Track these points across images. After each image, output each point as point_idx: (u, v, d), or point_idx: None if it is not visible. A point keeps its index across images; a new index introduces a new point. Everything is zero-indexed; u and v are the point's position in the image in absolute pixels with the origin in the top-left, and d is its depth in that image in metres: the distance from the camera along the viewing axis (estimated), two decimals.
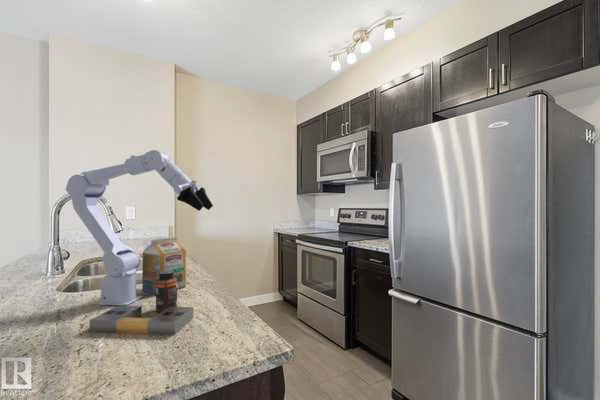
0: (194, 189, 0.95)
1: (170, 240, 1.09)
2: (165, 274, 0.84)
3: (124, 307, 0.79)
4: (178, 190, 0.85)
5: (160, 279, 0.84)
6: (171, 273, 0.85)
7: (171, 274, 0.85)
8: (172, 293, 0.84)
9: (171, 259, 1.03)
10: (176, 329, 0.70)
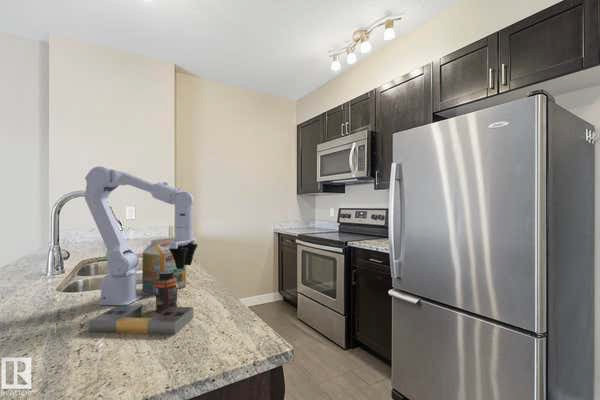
0: None
1: (170, 240, 1.09)
2: (165, 274, 0.84)
3: (124, 307, 0.79)
4: (173, 246, 0.90)
5: (160, 279, 0.84)
6: (171, 273, 0.85)
7: (171, 274, 0.85)
8: (172, 293, 0.84)
9: (171, 259, 1.03)
10: (176, 329, 0.70)
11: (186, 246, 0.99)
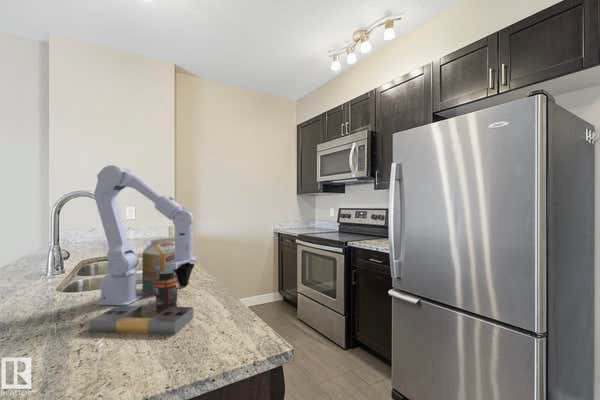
0: None
1: (170, 240, 1.09)
2: (165, 274, 0.84)
3: (124, 307, 0.79)
4: (172, 267, 0.89)
5: (160, 279, 0.84)
6: (171, 273, 0.85)
7: (171, 274, 0.85)
8: (172, 293, 0.84)
9: (171, 259, 1.03)
10: (176, 329, 0.70)
11: None
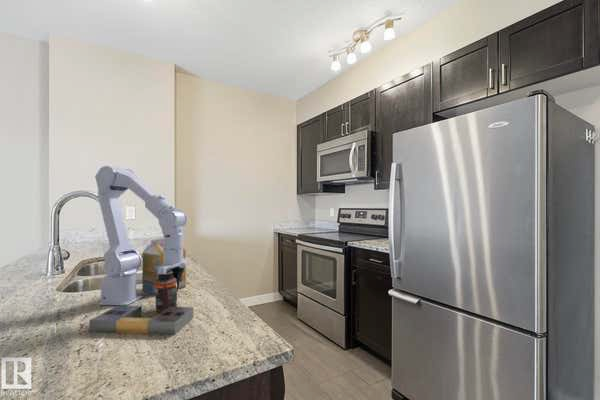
0: None
1: None
2: (164, 275, 0.83)
3: (124, 307, 0.79)
4: (160, 272, 0.82)
5: (159, 280, 0.83)
6: (170, 273, 0.84)
7: (170, 275, 0.84)
8: (172, 293, 0.84)
9: None
10: (176, 329, 0.70)
11: None
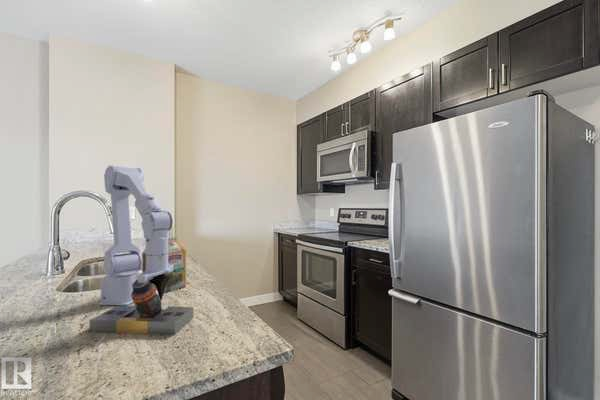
0: None
1: (170, 240, 1.09)
2: (139, 288, 0.72)
3: (124, 307, 0.79)
4: (141, 281, 0.73)
5: (135, 293, 0.73)
6: (146, 284, 0.73)
7: (147, 285, 0.73)
8: (154, 303, 0.75)
9: (171, 259, 1.03)
10: (176, 329, 0.70)
11: None
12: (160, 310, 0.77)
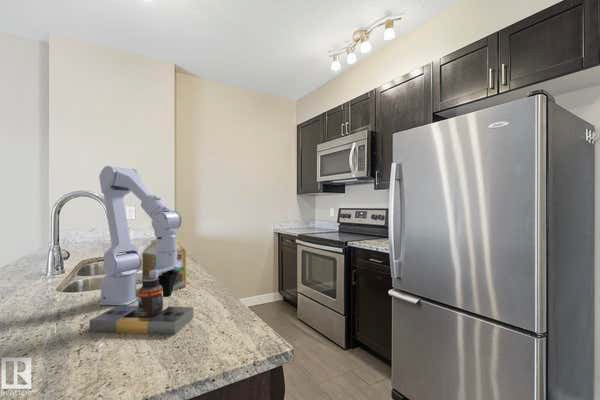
0: None
1: None
2: (149, 282, 0.76)
3: (124, 307, 0.79)
4: (152, 276, 0.79)
5: (143, 287, 0.76)
6: (156, 280, 0.77)
7: (156, 282, 0.77)
8: (157, 303, 0.76)
9: None
10: (176, 329, 0.70)
11: None
12: None
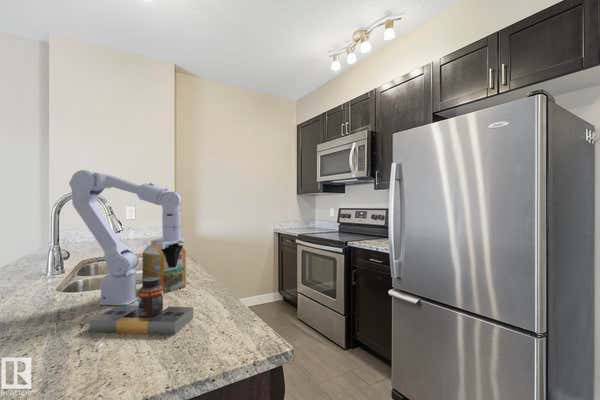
0: None
1: None
2: (149, 281, 0.76)
3: (124, 307, 0.79)
4: (160, 247, 0.89)
5: (144, 287, 0.76)
6: (156, 280, 0.77)
7: (156, 281, 0.77)
8: (157, 302, 0.76)
9: None
10: (176, 329, 0.70)
11: None
12: None
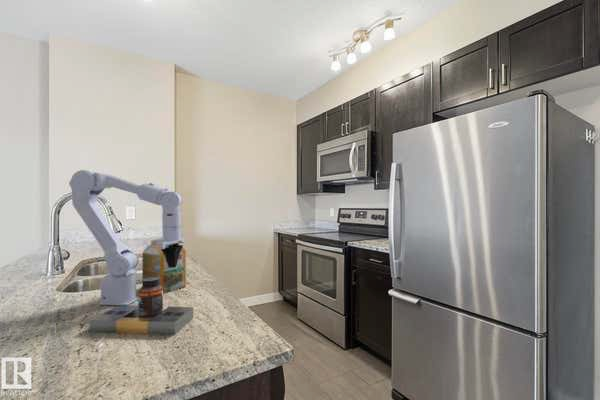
0: None
1: None
2: (149, 281, 0.76)
3: (124, 307, 0.79)
4: (160, 247, 0.89)
5: (143, 287, 0.76)
6: (156, 280, 0.77)
7: (156, 281, 0.77)
8: (157, 302, 0.76)
9: None
10: (176, 329, 0.70)
11: None
12: None
